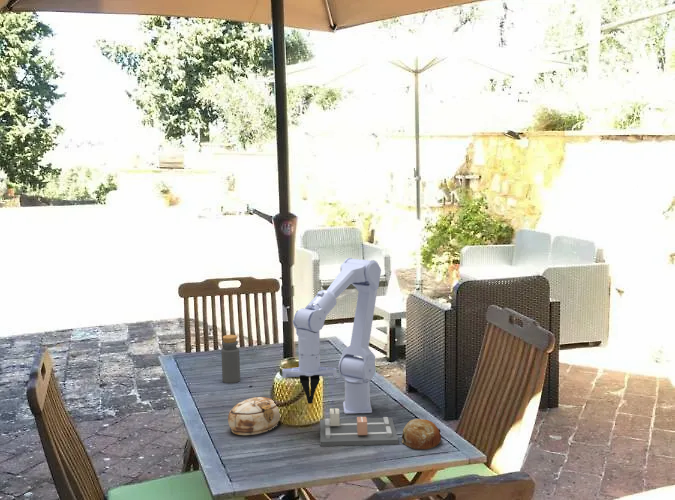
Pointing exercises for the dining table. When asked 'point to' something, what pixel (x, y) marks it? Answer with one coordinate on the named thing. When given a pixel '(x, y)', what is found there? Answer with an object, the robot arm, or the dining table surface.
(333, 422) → the fader
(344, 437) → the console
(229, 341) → the bottle
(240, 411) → the trinket box
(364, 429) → the fader
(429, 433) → the bread roll
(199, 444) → the dining table surface
